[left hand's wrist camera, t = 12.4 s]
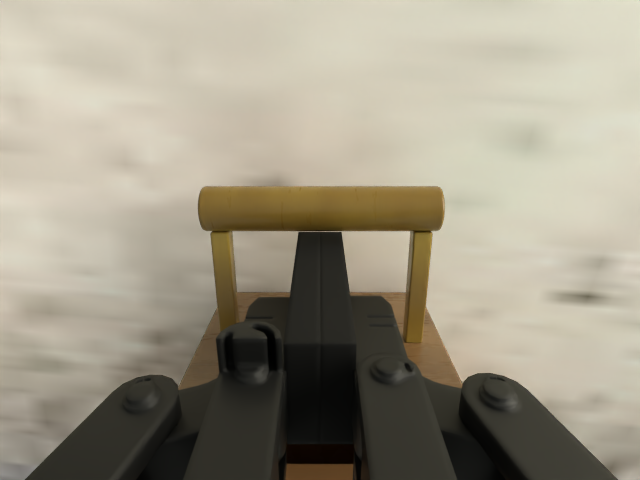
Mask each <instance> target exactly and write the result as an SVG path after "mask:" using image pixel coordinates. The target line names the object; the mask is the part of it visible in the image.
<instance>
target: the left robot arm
mask: <svg viewBox="0 0 640 480" xmlns="http://www.w3.org/2000/svg"><path fill="white" fill-rule="evenodd" d="M216 347H217V356H218V365H219V374H218V377H217V378H216V379H214V380H212V381H210V382H208V383H205V384H201V385H198V386H194V387H190V388H185V389H181V390H178V385H177V384H176V383H175V382H174V380H173V379H171V378H169V377H166V376H163V375H147V376H142V377H138V378H135V379H133V380H131V381H128V382H126V383H124V384H122V385H121V386H120V387H119V388H117V389H116V390H115V391H113V392H112V393H111V394H110V395H109V396H108V397H107V398H106V399H105V400H104V401H103V402H102V403H101V404H100V405H99V406H98V407H97V408H96V409H95V410H94V411H93V412H92V413H91V414H90V415H89V416H88V417H87V418H86V419H85V420H84V421H83V422H82V423H81V424H80V425H79V426H78V427H77V428H76V429H75V430H74V431H73V432H72V433H71V434H70V435H69V436H68V437H67V438H66V439H65V440H64V441H63V442H62V443H61V444H60V445H59V446H58V447H57V448H56V449H55V450H54V451H53V452H52V453H51V454H50V455H49V456H48V457H47V458H46V459H45V460H44V461H43V462H42V463H41V464H40V465H39V466H38V467H37V468H36V469H35V470H34V471H33V472H32V473H31V474H30V475H29V476H28V477H27V478H26V479H25V480H286V468H287V461H286V443H287V444H353V441H354V461H353V480H618V479H617V478H616V477H615V476H614V475H613V474H612V473H611V472H610V471H609V470H608V469H607V468H606V467H605V466H604V465H603V464H602V463H601V462H600V461H599V460H598V459H597V458H596V457H595V456H594V455H593V454H591V453H590V452H589V451H588V450H587V449H586V448H585V447H584V446H583V445H582V444H581V443H580V442H579V441H578V440H577V439H576V438H575V437H574V436H573V435H572V434H571V433H570V432H569V431H568V430H567V429H566V428H565V427H564V426H563V425H562V424H561V423H560V422H559V421H558V420H557V419H556V418H555V417H554V416H553V415H552V414H551V413H550V412H549V411H548V410H547V409H546V408H545V407H544V406H543V405H542V404H541V403H540V402H539V401H538V400H537V399H536V398H535V397H534V396H533V395H532V394H531V393H530V392H529V391H528V390H527V389H526V388H524V387H523V386H522V385H520V384H519V383H518V382H516V381H514V380H511V379H509V378H507V377H505V376H501V375H497V374H492V373H478V374H475V375H472V376H470V377H468V378H467V379H466V380H465V381H464V382H463V384H462V388H458V387H453V386H449V385H445V384H441V383H438V382H434V381H432V380H430V379H428V378H425V377H424V376H422V374H421V371H420V370H419V368H418V367H417V365H416V364H415V363H414V362H412V361H411V360H410V359H408V357H407V354H406V350H405V347H404V344H403V341H402V338H401V334H400V331H399V328H398V327H397V322H396V318H395V315H394V312H393V309H392V306H391V304H390V303H389V302H388V301H387V300H385V299H384V298H383V297H382V296H350V292H349V284H348V277H347V270H346V263H345V255H344V248H343V241H342V233H341V232H299V233H298V241H297V248H296V255H295V263H294V270H293V277H292V284H291V292H290V297H258V298H257V299H256V300H255V301H254V302H253V303H252V304H251V305H250V306H249V307H248V310H247V314H246V319H245V320H244V322H239V323H236V324H233V325H230V326H228V327H227V328H225V329H224V330H222V331H221V332H220V333H219V335H218V336H217V337H216Z"/></svg>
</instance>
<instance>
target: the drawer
mask: <svg viewBox="0 0 640 480" xmlns="http://www.w3.org/2000/svg"><path fill="white" fill-rule="evenodd" d="M444 212H445V202H444V195H443V192H442V189H441V188H440V187H438V186H206V187H203V188H202V189H201V191H200V195H199V200H198V215H199V221H200V224H201V227H202V229H203V230H205V231H212V232H211V245H212V255H213V265H214V276H215V286H216V296H217V309H216V311H215V313H214V315H213V317H212V319H211V321H210V323H209V325H208V328H207V330H206V332H205V334H204V336H203V338H202V340H201V342H200V344H199V346H198V348H197V350H196V352H195V354H194V356H193V358H192V360H191V362H190V364H189V367H188V369H187V371H186V373H185V375H184V377H183V379H182V381H181V383H180V385H179V387H178V390H181V389H185V388H190V387H194V386H198V385H201V384H205V383H208V382H210V381H212V380H214V379H216V378H217V377H218V374H219V365H218V356H217V347H216V337H217V336H218V335H219V333H220V332H221V331H222V330H224V329H225V328H227V327H228V326H230V325H233V324H236V323H239V322H244V320H245V319H246V314H247V310H248V307H249V306H250V305H251V304H252V303H253V302H254V301H255V300H256V299H257V298H258V297H290V292H237V287H236V274H235V261H234V248H233V236H232V231H410V245H409V258H408V271H407V284H406V293H350V296H382V297H383V298H384V299H385V300H387V301H388V302H389V303H390V304H391V306H392V309H393V312H394V315H395V318H396V322H397V327H398V328H399V331H400V334H401V338H402V341H403V344H404V347H405V350H406V354H407V357H408V359H410V360H411V361H412V362H414V363H415V364H416V365H417V367H418V368H419V370H420V371H421V374H422V376H424V377H425V378H428V379H430V380H432V381H434V382H438V383H441V384H445V385H449V386H453V387H458V388H462V382H461V380H460V378H459V376H458V374H457V372H456V370H455V367H454V365H453V363H452V361H451V359H450V357H449V355H448V353H447V350H446V348H445V346H444V344H443V342H442V340H441V338H440V336H439V334H438V331H437V329H436V327H435V325H434V323H433V321H432V319H431V317H430V315H429V312H428V310H427V308H426V297H427V287H428V276H429V265H430V255H431V244H432V232H431V231H438V230H440V228H441V226H442V223H443V220H444ZM286 461H287V464H353V461H354V441H353V444H287V443H286Z"/></svg>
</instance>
